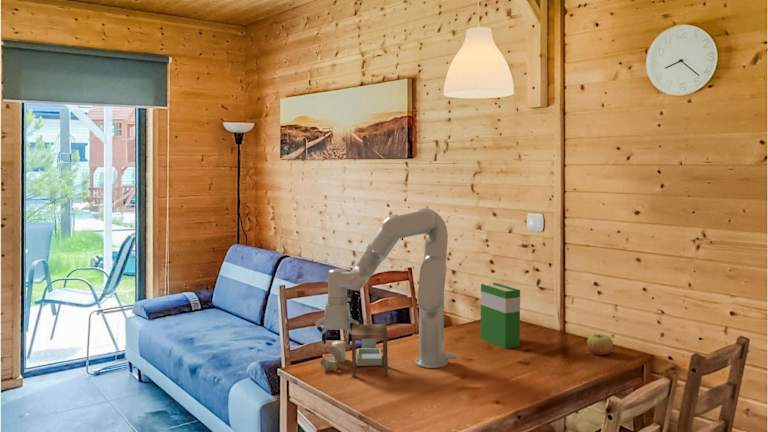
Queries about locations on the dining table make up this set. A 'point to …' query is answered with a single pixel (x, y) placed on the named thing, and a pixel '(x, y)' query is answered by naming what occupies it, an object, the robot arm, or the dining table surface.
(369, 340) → the grey armchair
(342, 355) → the pale upright block
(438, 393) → the dining table surface
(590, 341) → the apple
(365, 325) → the small wooden stool
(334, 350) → the grey curved piece
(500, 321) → the hardback book
